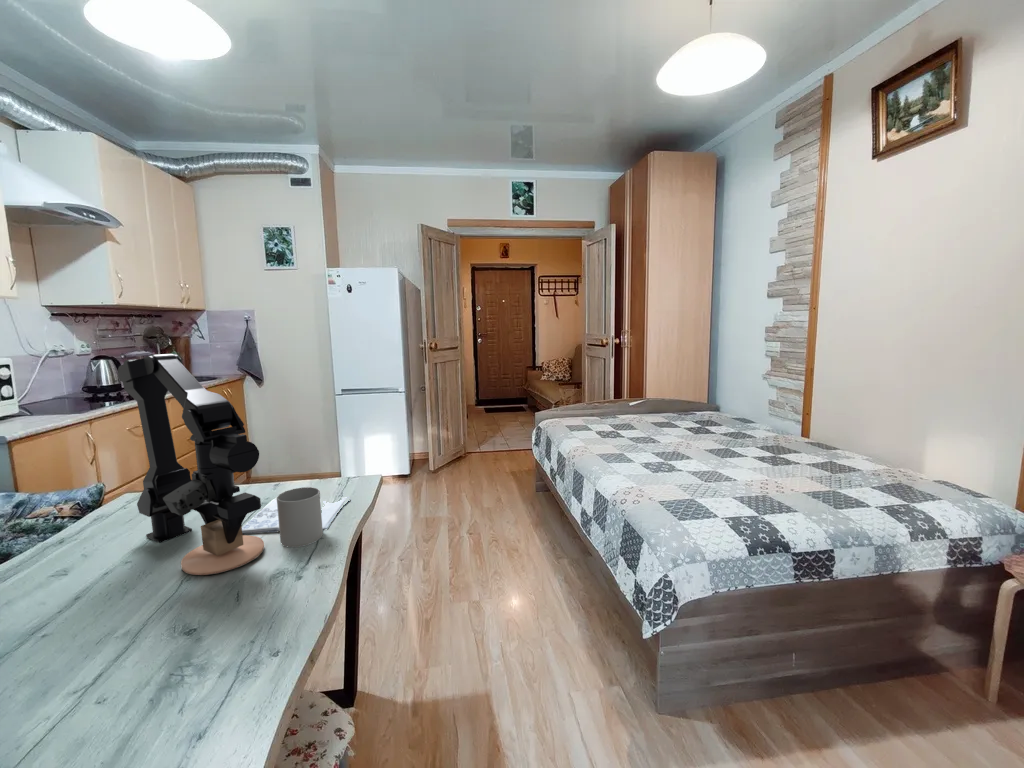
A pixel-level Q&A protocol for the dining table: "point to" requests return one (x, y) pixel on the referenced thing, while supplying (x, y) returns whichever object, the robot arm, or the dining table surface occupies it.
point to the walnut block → (218, 538)
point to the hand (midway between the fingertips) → (222, 539)
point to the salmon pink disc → (222, 557)
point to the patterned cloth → (270, 522)
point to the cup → (299, 516)
